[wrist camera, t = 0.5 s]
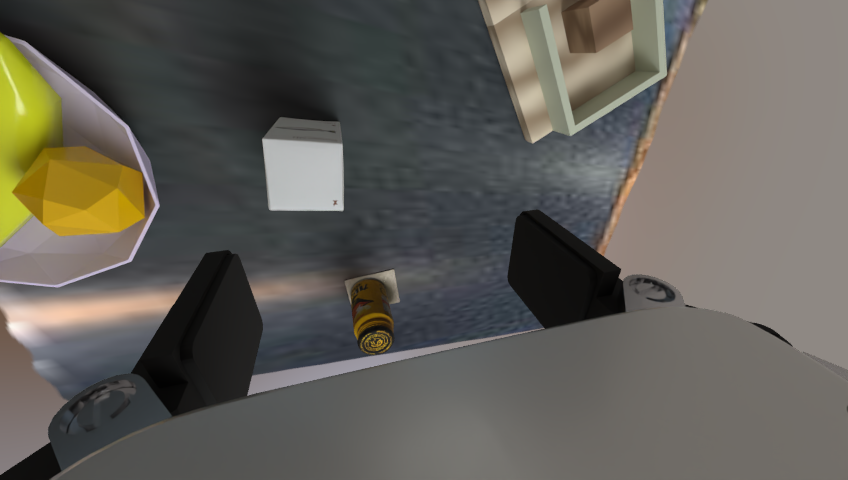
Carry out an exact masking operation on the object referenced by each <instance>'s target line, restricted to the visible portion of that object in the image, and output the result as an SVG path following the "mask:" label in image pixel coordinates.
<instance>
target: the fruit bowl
mask: <svg viewBox="0 0 848 480" xmlns="http://www.w3.org/2000/svg"><path fill="white" fill-rule="evenodd" d="M159 206H160V205H159V200H158V196H157V191H156V186H155V181H154V177H153V172H152V167H151V163H150V160H149V158H148V156H147V155H146V153H145V152H144V150H143V148H142V147H141V145H140V144H139V142H138V140H137V139H136V137H135V136H134V134H133V132H132V131H131V129H130V128H129V126H128V125H127V124H126V123H125V122H124V121H123V120H122V119H121V118H120V117H119V116H118V115H117V114H116V113H115V112H114V111H113V110H112V109H111V108H110V107H108V106H107V105H106V104H105V103H104V102H103V101H102V100H101V99H100V98H99V97H98V96H97V95H96V94H95V93H94V92H93V91H92V90H90V89H89V88H87V87H86V86H85V85H83V84H82V83H81V82H79V81H78V80H77V79H75V78H74V77H73V76H71V75H70V74H69V73H67V72H66V71H65V70H63V69H62V68H60V67H59V66H58V65H56V64H55V63H54V62H52V61H51V60H50V59H48V58H47V57H46V56H44V55H43V54H42V53H40V52H39V51H38V50H36V49H35V48H33V47H32V46H31V45H29V44H28V43H27V42H25V41H23V40H19V39H16V38H13V37H10V36H7V35H3V34H2V33H1V32H0V282H8V283H18V284H28V285H39V286H49V287H60V286H63V285H66V284H69V283H72V282H74V281H77V280H80V279H83V278H86V277H89V276H91V275H94V274H97V273H100V272H103V271H106V270H108V269H111V268H114V267H117V266H120V265H123V264H126V263H128V262H131V261H132V259H133V257H134V255H135V253H136V251H137V249H138V247H139V245H140V243H141V241H142V239H143V237H144V235H145V233H146V232H147V230H148V228H149V226H150V224H151V222H152V220H153V218H154V216H155V214H156V212H157V210H158V208H159Z"/></svg>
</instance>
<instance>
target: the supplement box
mask: <svg viewBox="0 0 848 480" xmlns="http://www.w3.org/2000/svg"><path fill="white" fill-rule="evenodd" d="M262 142H263V152H264V162H265V173H266V185H267V196H268V207H269V209H270V210H300V211H343V210H344V166H343V145H342V136H341V128H340V122H335V121H316V120H304V119H294V118H286V117H280V118H279V119H278V120H277V121H276V122H275V124H274V125H273V126H272V128H271V129H270V130H269V131H268V132H267V134H266V135H265V136H264V137H263V138H262Z"/></svg>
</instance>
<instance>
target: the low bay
mask: <svg viewBox="0 0 848 480" xmlns="http://www.w3.org/2000/svg"><path fill="white" fill-rule="evenodd" d="M630 1H631V11H632V20H633V30H632V31H631V33H632V43H633V52H634V61H635V72H633V73H632V74H630V75H628V76H627V77H625V78H624V79H622V80H621V81H619V82H617V83H616V84H614V85H613V86H611V87H610V88H608V89H606V90H605V91H603V92H602V93H600V94H599V95H597V96H595V97H594V98H592V99H591V100H589V101H587V102H586V103H584V104H583V105H581V106H580V107H578V108H576V109H575V110H573V111H572V110H571V106H570V102H569V97H568V93H567V89H566V85H565V80H564V76H563V72H562V68H561V63H560V59H559V55H558V51H557V46H556V42H555V38H554V33H553V29H552V25H551V21H550V16H549V12H548V8H547V4H545V5H541V6H537V7H532V8H528V9H526V10H525V11H523V12H522V13H520V14H521V18H522V21H523V25H524V28H525V32H526V36H527V39H528V43H529V46H530V50H531V53H532V57H533V61H534V64H535V68H536V71H537V75H538V78H539V82H540V86H541V89H542V93H543V96H544V100H545V103H546V107H547V111H548V114H549V118H550V121H551V125H552V128H553V131H556V132H559V133H562V134H565V135H568V136H571V135H573V134H575V133H576V132H578V131H579V130H581V129H583V128H584V127H586V126H587V125H589V124H590V123H592V122H594V121H595V120H597V119H598V118H600V117H602V116H603V115H605V114H606V113H608V112H610V111H611V110H613V109H614V108H616V107H617V106H619V105H621V104H622V103H624V102H625V101H627V100H629V99H630V98H632V97H633V96H635V95H637V94H638V93H640V92H641V91H643V90H644V89H646V88H648V87H649V86H651V85H652V84H654V83H656V82H657V81H659V80H660V79H662V78H663V77H665V76H667V69H666V50H665V31H664V12H663V0H630Z"/></svg>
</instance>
